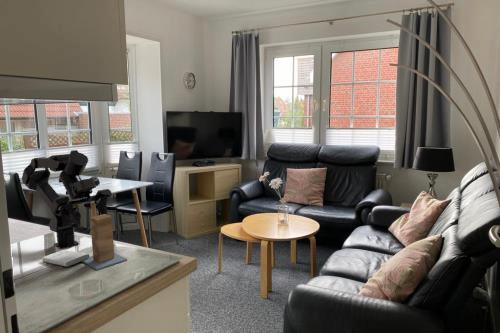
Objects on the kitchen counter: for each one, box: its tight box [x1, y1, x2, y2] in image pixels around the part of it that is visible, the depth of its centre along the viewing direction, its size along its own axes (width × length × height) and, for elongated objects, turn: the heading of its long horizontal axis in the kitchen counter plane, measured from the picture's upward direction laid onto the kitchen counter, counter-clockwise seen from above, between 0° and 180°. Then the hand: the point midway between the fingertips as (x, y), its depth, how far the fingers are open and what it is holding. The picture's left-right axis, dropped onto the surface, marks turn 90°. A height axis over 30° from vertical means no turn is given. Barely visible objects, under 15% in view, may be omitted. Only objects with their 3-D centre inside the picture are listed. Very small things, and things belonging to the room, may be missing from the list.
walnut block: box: [89, 214, 115, 263], centre depth 116 cm, size 4×5×14 cm
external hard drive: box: [41, 249, 90, 267], centre depth 117 cm, size 2×8×12 cm
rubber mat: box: [81, 252, 128, 271], centre depth 117 cm, size 11×10×1 cm
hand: (93, 221), depth 118 cm, fingers open, 9 cm apart
